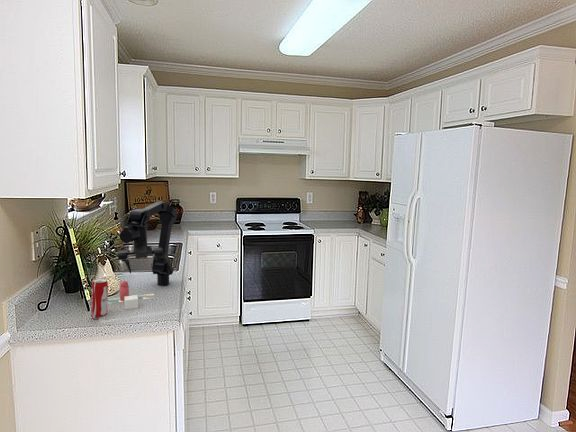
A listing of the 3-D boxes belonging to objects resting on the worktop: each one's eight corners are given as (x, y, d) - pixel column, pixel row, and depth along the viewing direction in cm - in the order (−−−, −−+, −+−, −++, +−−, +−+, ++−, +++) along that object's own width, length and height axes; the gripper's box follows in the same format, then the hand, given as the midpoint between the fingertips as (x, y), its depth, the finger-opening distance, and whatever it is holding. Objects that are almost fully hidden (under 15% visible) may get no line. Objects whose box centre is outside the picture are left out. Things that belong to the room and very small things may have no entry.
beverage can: (89, 315, 153) (87, 279, 151) (107, 312, 157) (105, 277, 155) (92, 320, 149) (90, 283, 147) (110, 317, 153) (109, 280, 150)
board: (106, 301, 169) (105, 299, 169) (153, 295, 177) (153, 293, 177) (105, 306, 164) (105, 303, 164) (155, 299, 172) (155, 297, 172)
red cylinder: (120, 298, 171) (120, 280, 169) (129, 297, 172) (128, 279, 170) (119, 301, 167) (118, 282, 166) (128, 300, 168) (127, 281, 167)
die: (124, 307, 163) (124, 296, 162) (137, 306, 165) (136, 294, 164) (125, 312, 158) (125, 300, 157) (138, 310, 160) (138, 298, 160)
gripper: (116, 243, 159) (119, 279, 161) (163, 240, 166) (165, 275, 169) (117, 238, 169) (119, 272, 171) (161, 235, 176) (162, 267, 179)
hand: (141, 272), depth 172 cm, fingers open, 9 cm apart
